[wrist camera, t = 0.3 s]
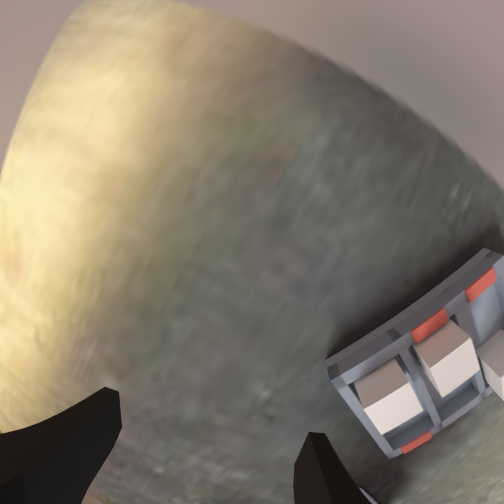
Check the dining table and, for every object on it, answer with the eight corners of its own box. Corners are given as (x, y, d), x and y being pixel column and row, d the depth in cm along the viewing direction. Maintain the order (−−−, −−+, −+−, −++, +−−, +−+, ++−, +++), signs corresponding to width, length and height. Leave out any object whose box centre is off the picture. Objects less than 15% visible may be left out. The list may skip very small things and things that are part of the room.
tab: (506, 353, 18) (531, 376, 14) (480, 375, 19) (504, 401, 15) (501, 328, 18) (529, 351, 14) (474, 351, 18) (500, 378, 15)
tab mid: (453, 341, 18) (479, 369, 14) (419, 365, 19) (442, 397, 15) (441, 311, 18) (470, 337, 14) (405, 337, 18) (429, 368, 15)
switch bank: (510, 349, 19) (526, 363, 17) (382, 440, 22) (390, 461, 19) (483, 247, 18) (505, 256, 15) (325, 360, 20) (330, 382, 18)
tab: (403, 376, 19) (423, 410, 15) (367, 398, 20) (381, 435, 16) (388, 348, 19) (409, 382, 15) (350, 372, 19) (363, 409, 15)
